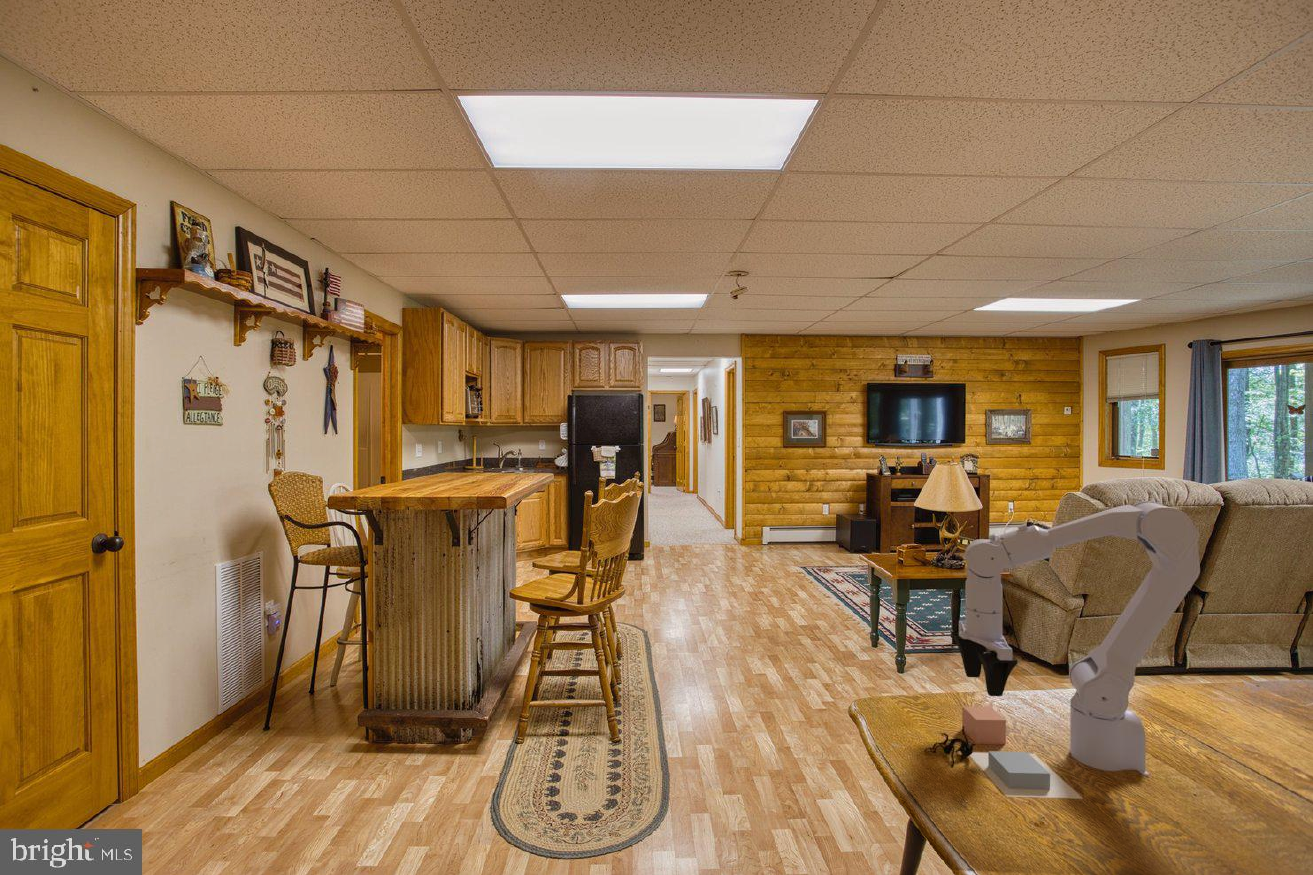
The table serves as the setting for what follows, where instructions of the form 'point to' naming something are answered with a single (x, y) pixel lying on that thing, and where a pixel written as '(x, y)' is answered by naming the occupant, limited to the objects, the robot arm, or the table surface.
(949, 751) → the creature
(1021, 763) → the base brick
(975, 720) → the top brick
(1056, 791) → the board
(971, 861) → the table surface
